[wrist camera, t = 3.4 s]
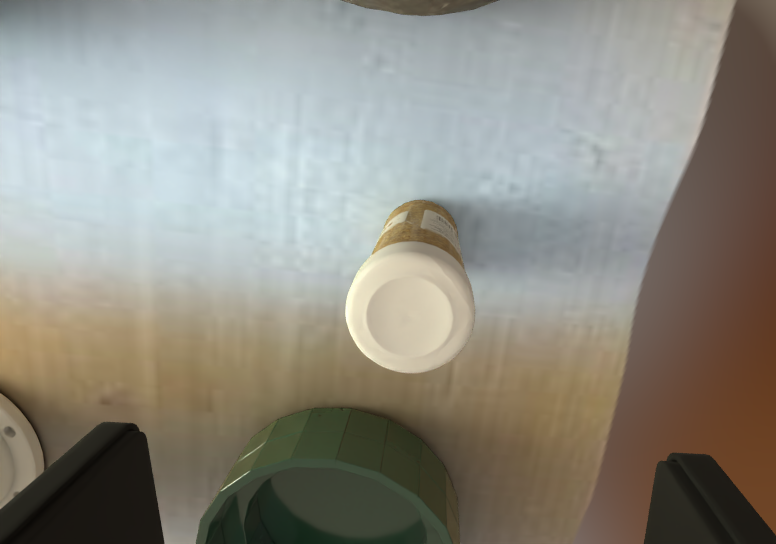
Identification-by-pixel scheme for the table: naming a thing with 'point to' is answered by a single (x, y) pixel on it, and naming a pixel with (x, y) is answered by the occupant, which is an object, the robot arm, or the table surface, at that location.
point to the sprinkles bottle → (413, 293)
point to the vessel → (421, 6)
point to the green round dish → (333, 486)
